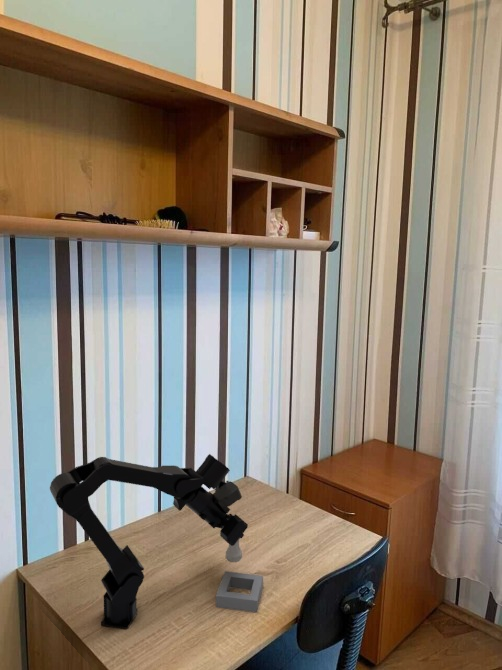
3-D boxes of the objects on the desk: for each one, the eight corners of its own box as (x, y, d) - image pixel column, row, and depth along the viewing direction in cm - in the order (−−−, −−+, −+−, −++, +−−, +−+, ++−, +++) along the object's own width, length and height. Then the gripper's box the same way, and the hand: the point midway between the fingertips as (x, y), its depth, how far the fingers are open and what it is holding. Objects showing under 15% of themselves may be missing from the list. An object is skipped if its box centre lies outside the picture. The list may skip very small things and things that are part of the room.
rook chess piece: (223, 554, 136) (224, 526, 135) (239, 552, 138) (240, 524, 137) (227, 564, 132) (228, 535, 131) (244, 561, 133) (245, 532, 132)
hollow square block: (215, 607, 124) (216, 595, 124) (224, 581, 134) (224, 571, 134) (257, 612, 123) (257, 600, 122) (262, 586, 132) (263, 575, 132)
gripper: (241, 490, 122) (278, 523, 129) (205, 463, 137) (240, 493, 145) (211, 530, 119) (250, 561, 126) (178, 497, 134) (214, 527, 142)
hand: (239, 533), depth 135 cm, fingers closed on rook chess piece, 3 cm apart
